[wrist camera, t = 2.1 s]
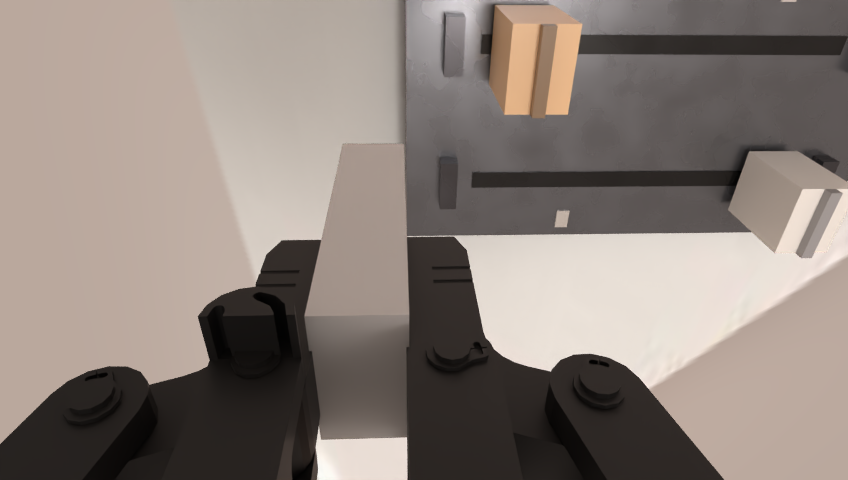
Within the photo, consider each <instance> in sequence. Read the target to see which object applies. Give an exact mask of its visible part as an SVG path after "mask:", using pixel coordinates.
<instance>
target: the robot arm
mask: <svg viewBox="0 0 848 480" xmlns="http://www.w3.org/2000/svg"><path fill="white" fill-rule="evenodd" d="M472 280H473V279H472V274H471V269H470V264H469V259H468V255H467V250H466V249H465V248H464V247H463V246H462V245H461V244H460V243H459V242H458V241H457V239H456V238H455V237H407V228H406V196H405V165H404V144H343V146H342V150H341V155H340V159H339V164H338V168H337V172H336V177H335V181H334V186H333V190H332V195H331V199H330V204H329V208H328V213H327V217H326V222H325V226H324V231H323V235H322V240H282V241H281V242H280V243H279V244H278V245H277V246H275V247H274V248H273V249H272V250H271V251H270V252H269V253H268V254H267V255H266V258H265V260H264V263H263V266H262V268H261V274H259V277H258V279H257V282H256V287H251V288H243V289H238V290H235V291H232V292H229V293H227V294H224V295H221V296H220V297H218V298H217V299H215V300H214V301H212V302H211V303H209V304H208V305H207V306H206V307H205V308H204V309H203V311H202V312H201V313H200V314H199V316H198V319H199V323H200V326H201V330H202V334H203V337H204V341H205V344H206V348H207V352H208V356H209V359H210V361H209V364H208V366H207V367H206V368H203V369H202V370H200V371H197V372H194V373H191V374H188V375H185V376H182V377H178V378H174V379H170V380H167V381H163V382H159V383H155V384H151V385H149V384H148V382H147V380H146V379H145V377H144V376H143V375H142V373H141V372H139V371H137V370H134V369H132V368H129V367H110V366H109V367H105V368H101V369H97V370H92V371H88V372H86V373H84V374H82V375H80V376H78V377H76V378H74V379H72V380H70V381H68V382H66V383H65V384H64V385H63V386H61V387H60V388H59V389H57V390H56V391H55V392H53V393H52V394H51V395H50V396H49V397H48V398H47V399H46V400H45V401H44V402H43V403H42V404H41V405H40V406H39V407H38V408H37V409H36V410H34V411H33V413H32V414H31V415H29V416H28V417H27V418H26V420H24V421H23V422H22V423H21V424H20V425H19V426H18V427H17V428H16V429H15V430H14V431H13V432H12V433H11V434H10V435H9V436H8V437H7V438H6V439H5V440H4V441H3V442H2V443H1V444H0V480H317V473H318V465H317V455H316V448H315V447H316V440H317V434H318V427H319V428H320V435H321V440H325V439H360V438H396V437H407V454H408V480H724V479H723V478H722V477H721V475H720V474H719V473H718V472H717V471H716V469H715V468H714V467H713V466H712V465H711V463H710V462H709V461H708V460H707V459H706V457H705V456H704V455H703V454H702V453H701V451H700V450H699V449H698V448H697V447H696V446H695V444H694V443H693V442H692V441H691V439H690V438H689V437H688V436H687V435H686V434H685V432H684V431H683V430H682V429H681V428H680V426H679V425H678V424H677V423H676V422H675V420H674V419H673V418H672V417H671V416H670V414H669V413H668V412H667V411H666V410H665V408H664V407H663V406H662V405H661V404H660V402H659V401H658V400H657V399H656V398H655V396H654V395H653V394H652V393H651V392H650V390H649V389H648V388H647V387H646V386H645V384H644V383H643V382H642V381H641V380H640V378H639V377H637V376H636V375H635V374H634V373H633V372H632V371H631V370H629V369H628V368H627V367H626V366H624V365H622V364H620V363H618V362H616V361H614V360H612V359H610V358H607V357H603V356H598V355H594V354H578V355H572V356H570V357H567V358H565V359H562V360H560V361H559V362H558V363H557V365H556V366H555V367H554V368H553V369H552V371H551V372H550V371H545V370H541V369H536V368H532V367H528V366H524V365H521V364H518V363H515V362H512V361H511V360H509V359H507V358H505V357H503V356H501V355H500V354H499V353H498V352H497V351H495V350H494V349H493V347H492V345H491V343H490V342H489V341H488V340H487V339H486V338H485V335H484V332H483V328H482V323H481V318H480V313H479V309H478V304H477V299H476V294H475V289H474V284H473V281H472Z"/></svg>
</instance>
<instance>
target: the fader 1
mask: <svg viewBox="0 0 848 480" xmlns="http://www.w3.org/2000/svg"><path fill="white" fill-rule="evenodd" d="M581 30H582V24H581V23H580V22H578V21H577V20H575V19H574V18H572V17H571V16H569V15H568V14H566V13H565V12H563V11H562V10H560V9H559V8H557V7H555V6H554V5H495V11H494V24H493V36H492V49H491V62H490V75H489V85H490V87H491V89H492V91H493V93H494V95H495V97H496V99H497V101H498V103H499V105H500V107H501V109H502V111H503V113H504V115H530V116H531V117H532V118H545V115H568V110H569V104H570V98H571V92H572V85H573V79H574V73H575V67H576V61H577V54H578V48H579V42H580V36H581Z"/></svg>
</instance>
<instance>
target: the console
mask: <svg viewBox="0 0 848 480" xmlns="http://www.w3.org/2000/svg"><path fill="white" fill-rule="evenodd" d="M495 5H554V6H555V7H557V8H559V9H560V10H562V11H563V12H565V13H566V14H568V15H569V16H571V17H572V18H574V19H575V20H577V21H578V22H580V23H581V24H582V30H581V36H580V42H579V48H578V54H577V61H576V67H575V73H574V79H573V85H572V92H571V98H570V104H569V110H568V115H545V118H532V117H531V116H530V115H504V113H503V111H502V109H501V107H500V105H499V103H498V101H497V99H496V97H495V95H494V93H493V91H492V89H491V87H490V85H489V75H490V62H491V49H492V36H493V24H494V11H495ZM405 34H406V226H407V236H439V235H533V234H626V233H719V232H751V231H750V230H749V229H748V228H747V227H746V226H745V225H744V224H743V223H742V222H740V221H739V220H738V219H737V218H736V217H735V216H734V215H733V214H732V213H731V212H730V211H729V210H728V208H729V206H730V203H731V200H732V197H733V195H734V192H735V189H736V186H737V184H738V181H739V178H740V175H741V172H742V170H743V167H744V164H745V161H746V159H747V156H748V153H749V151H798V152H800V153H801V154H803V155H805V156H806V157H808V158H810V159H811V160H813V161H814V162H816V163H818V164H819V165H821V166H822V167H824V168H826V169H827V170H829V171H831V172H832V173H834V174H835V175H837V176H839V177H840V178H842V179H843V180H845V181H848V0H405Z"/></svg>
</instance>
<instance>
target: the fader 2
mask: <svg viewBox="0 0 848 480" xmlns="http://www.w3.org/2000/svg"><path fill="white" fill-rule="evenodd" d="M728 210H729V211H730V212H731V213H732V214H733V215H734V216H735V217H736V218H737V219H738V220H739V221H740V222H742V223H743V224H744V225H745V226H746V227H747V228H748V229H749V230H750V231H751V232H752V233H753V234H755V235H756V236H757V237H758V238H759V239H760V240H761V241H762V242H763V243H764V244H765V245H766V246H767V247H769V248H770V249H771V250H772V251H773V252H774V253H796V254H797V255H798V256H799V257H801V258H812V256H813V254H814V253H827V251H828V249H829V247H830V245H831V243H832V241H833V239H834V237H835V235H836V233H837V231H838V229H839V227H840V225H841V223H842V221H843V219H844V217H845V215H846V213H847V211H848V182H847V181H845V180H843V179H842V178H840V177H839V176H837V175H835V174H834V173H832V172H831V171H829V170H827V169H826V168H824V167H822V166H821V165H819V164H818V163H816V162H814V161H813V160H811V159H810V158H808V157H806V156H805V155H803V154H801V153H800V152H798V151H749V153H748V156H747V159H746V161H745V164H744V167H743V170H742V172H741V175H740V178H739V181H738V184H737V186H736V189H735V192H734V195H733V197H732V200H731V203H730V206H729V208H728Z"/></svg>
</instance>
